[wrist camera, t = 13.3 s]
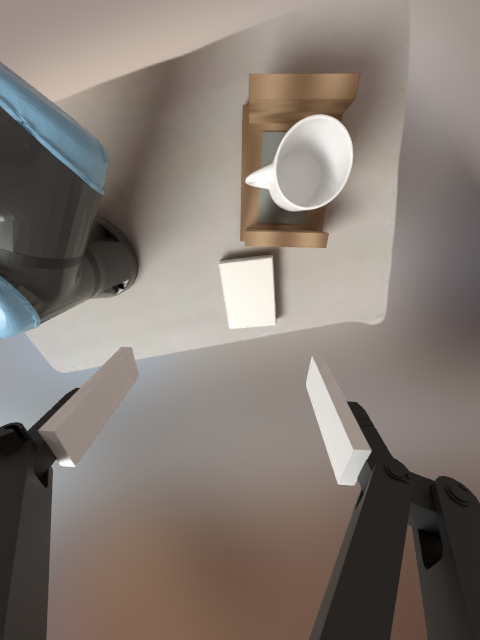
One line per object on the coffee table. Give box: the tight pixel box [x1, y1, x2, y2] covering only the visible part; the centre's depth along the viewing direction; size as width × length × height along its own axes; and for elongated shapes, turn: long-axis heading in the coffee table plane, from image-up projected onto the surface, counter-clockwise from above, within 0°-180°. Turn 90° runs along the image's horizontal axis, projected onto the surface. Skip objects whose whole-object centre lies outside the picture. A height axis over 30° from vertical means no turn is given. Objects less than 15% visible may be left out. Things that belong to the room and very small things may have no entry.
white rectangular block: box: [218, 254, 276, 329], centre depth 41 cm, size 10×14×3 cm
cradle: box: [240, 73, 360, 248], centre depth 30 cm, size 14×18×8 cm
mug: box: [245, 114, 353, 211], centre depth 28 cm, size 9×12×11 cm
